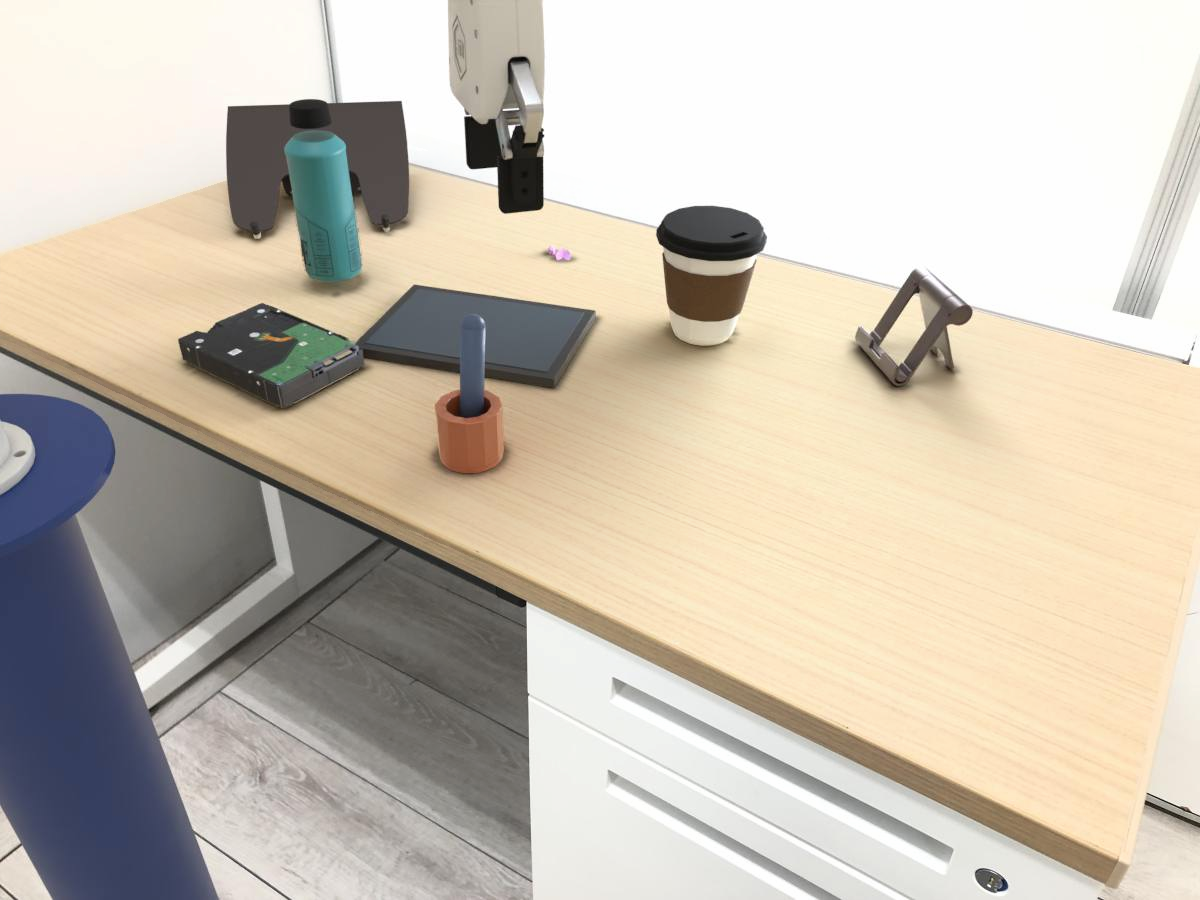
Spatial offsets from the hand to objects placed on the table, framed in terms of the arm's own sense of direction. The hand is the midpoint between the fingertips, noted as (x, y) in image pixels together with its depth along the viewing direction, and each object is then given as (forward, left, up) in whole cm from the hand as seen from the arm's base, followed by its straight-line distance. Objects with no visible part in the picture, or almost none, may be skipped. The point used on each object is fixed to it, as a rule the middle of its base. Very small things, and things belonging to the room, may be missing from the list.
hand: (503, 187), depth 72 cm
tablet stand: (+23, -34, -22) cm, 47 cm away
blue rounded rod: (-5, +2, -22) cm, 22 cm away
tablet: (+15, +9, -22) cm, 28 cm away
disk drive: (+4, +26, -22) cm, 34 cm away
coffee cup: (+23, -13, -22) cm, 35 cm away
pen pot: (-5, +2, -22) cm, 23 cm away
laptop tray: (+42, +41, -22) cm, 63 cm away
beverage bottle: (+22, +29, -22) cm, 43 cm away
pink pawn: (+37, +7, -23) cm, 44 cm away
